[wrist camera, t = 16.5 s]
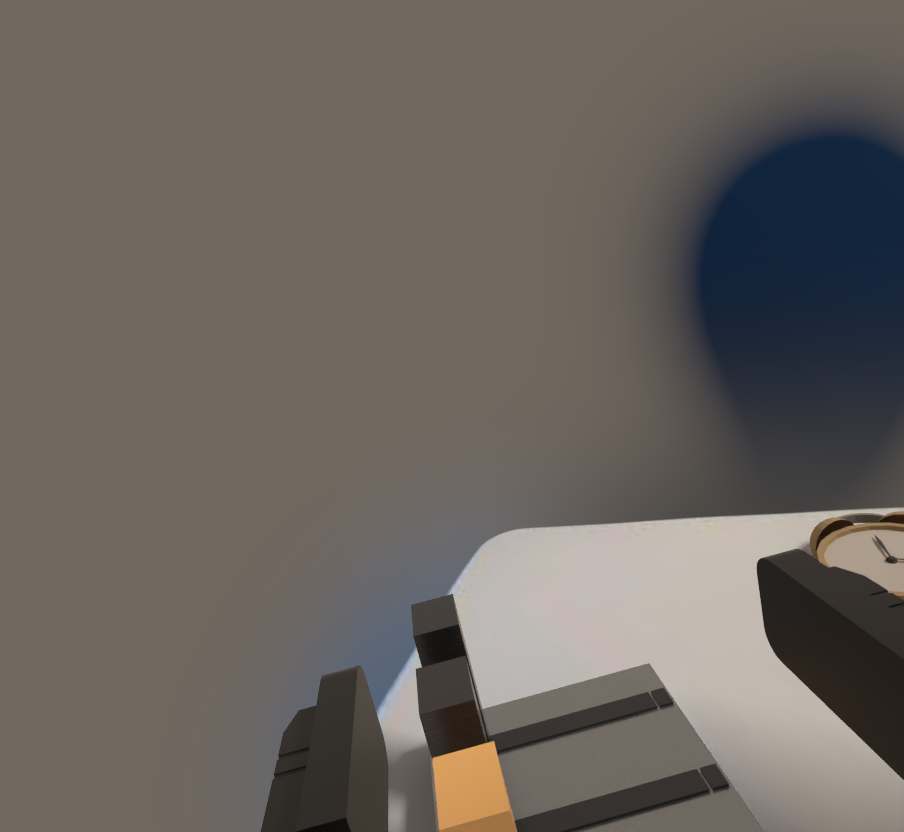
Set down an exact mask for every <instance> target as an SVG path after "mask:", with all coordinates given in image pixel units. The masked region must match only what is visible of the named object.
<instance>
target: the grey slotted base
mask: <svg viewBox="0 0 904 832" xmlns="http://www.w3.org/2000/svg"><path fill="white" fill-rule="evenodd" d="M411 608H412V622H413V635H414V640H415V643H416V647H417V650H418V654H419V658H420V661H421V665H422V668H418V669H416V677H417V690H418V704H419V715H420V719H421V722H422V726H423V729H424V733H425V736H426V740H427V743H428V747H429V757H430V768H431V779H432V791H433V802H434V814H435V825H436V832H440V831H439V823H438V812H437V801H436V791H435V780H434V770H433V759H432V758H435V757H438V756H442V755H445V754H449V753H453V752H456V751H460V750H463V749H467V748H471V747H474V746H478V745H481V744H485V743H489V742H492V741H494V743H495V747H496V751H497V755H498V759H499V762H500V766H501V770H502V774H503V778H504V782H505V786H506V790H507V794H508V797H509V801H510V805H511V809H512V813H513V817H514V821H515V825H516V829H517V832H764V831H763V829H762V828H761V826H760V825H759V824H758V822H757V821H756V819H755V818H754V816H753V815H752V813H751V812H750V810H749V809H748V807H747V806H746V804H745V803H744V802H743V800H742V799H741V797H740V796H739V794H738V793H737V791H736V790H735V788H734V787H733V785H732V784H731V783H730V781H729V780H728V778H727V777H726V775H725V774H724V772H723V771H722V769H721V768H720V766H719V765H718V764H717V762H716V761H715V759H714V758H713V756H712V755H711V753H710V752H709V750H708V749H707V747H706V746H705V744H704V743H703V742H702V740H701V739H700V737H699V736H698V734H697V733H696V731H695V730H694V728H693V727H692V725H691V724H690V723H689V721H688V720H687V718H686V717H685V715H684V714H683V712H682V711H681V709H680V708H679V706H678V705H677V704H676V702H675V701H674V699H673V698H672V696H671V695H670V693H669V692H668V690H667V689H666V687H665V686H664V684H663V683H662V682H661V680H660V679H659V677H658V676H657V674H656V673H655V671H654V670H653V668H652V667H651V665H650V664H645V665H641V666H638V667H634V668H630V669H627V670H623V671H620V672H616V673H612V674H609V675H605V676H601V677H598V678H594V679H591V680H587V681H583V682H580V683H576V684H572V685H569V686H565V687H561V688H558V689H554V690H551V691H547V692H543V693H540V694H536V695H532V696H529V697H525V698H522V699H518V700H514V701H511V702H507V703H503V704H500V705H496V706H493V707H489V708H485V709H482V706H481V702H480V698H479V694H478V690H477V686H476V683H475V679H474V675H473V671H472V667H471V663H470V659H469V655H468V652H467V648H466V644H465V640H464V636H463V632H462V628H461V624H460V621H459V617H458V613H457V609H456V605H455V601H454V597H453V594H451V595H447V596H443V597H440V598H436V599H432V600H428V601H425V602H421V603H417V604H414V605H411Z"/></svg>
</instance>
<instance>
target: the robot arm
mask: <svg viewBox="0 0 904 832" xmlns="http://www.w3.org/2000/svg"><path fill="white" fill-rule="evenodd" d="M757 576H758V583H759V591H760V598H761V606H762V613H763V621H764V628H765V632H766V636H767V639H768V641H769V643H770V645H771V647H772V649H773V651H774V653H775V654H776V656H777V657H778V658H779V659H780V661H781V662H782V663H783V664H784V665H785V666H786V667H788V668H789V669H790V670H791V671H792V672H793V673H794V674H795V675H796V676H797V677H798V678H799V679H800V680H801V681H802V682H803V683H804V684H805V685H806V686H807V687H808V688H809V689H810V690H811V691H812V692H813V693H814V694H815V695H816V696H817V697H819V698H820V699H821V700H822V701H823V702H824V703H825V704H826V705H827V706H828V707H829V708H830V709H831V710H832V711H833V712H834V713H835V714H836V715H837V716H838V717H839V718H840V719H841V720H842V721H843V722H844V723H845V724H846V725H847V726H849V727H850V728H851V729H852V730H853V731H854V732H855V733H856V734H857V735H858V736H859V737H860V738H861V739H862V740H863V741H864V742H865V743H866V744H867V745H868V746H869V747H870V748H871V749H872V750H873V751H874V752H875V753H876V754H877V755H878V756H880V757H881V758H882V759H883V760H884V761H885V762H886V763H887V764H888V765H889V766H890V767H891V768H892V769H893V770H894V771H895V772H896V773H897V774H898V775H899V776H900V777H901V778H902V779H903V780H904V600H903V599H901V598H900V597H898V596H897V595H895V594H893V593H888V591H887V589H885V588H884V587H882V586H880V585H879V584H877V583H876V582H874V581H872V580H871V579H869V578H867V577H866V576H864V575H861V574H858V573H855V572H852V571H848V570H845V569H842V568H839V567H836V566H833V567H829V568H828V567H827V566H825V565H824V564H822V563H821V562H819V561H818V560H816V559H815V558H813V557H811V556H810V555H808V554H807V553H805V552H804V551H802V550H799V549H794V550H791V551H787V552H783V553H779V554H776V555H772V556H768V557H765V558H761V559H760V560H759V561H758V563H757ZM278 756H279V760H277V764H276V768H275V772H274V776H275V779H273V781H272V786H271V790H270V795H269V798H268V803H267V807H266V811H265V816H264V820H263V825H262V829H261V832H388V761H387V753H386V747H385V742H384V737H383V733H382V730H381V727H380V723H379V720H378V717H377V713H376V710H375V707H374V704H373V700H372V697H371V694H370V691H369V687H368V684H367V681H366V677H365V674H364V672H363V670H362V668H361V666H356V667H353V668H349V669H345V670H342V671H338V672H334V673H331V674H326V675H323V676H322V678H321V682H320V687H319V693H318V700H317V705H316V706H313V707H310V708H306V709H303V710H299V711H298V713H297V714H296V715H295V717H294V718H293V720H292V722H291V723H290V724H289V726H288V727H287V729H286V730H285V732H284V733H283V738H282V742H281V746H280V751H279V755H278Z"/></svg>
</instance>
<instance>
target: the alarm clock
mask: <svg viewBox="0 0 904 832" xmlns="http://www.w3.org/2000/svg"><path fill="white" fill-rule="evenodd" d="M853 523H864V524H859V525H853ZM810 547H811V551H812V553H813V554H814V555H815V557H816V558H817V559H818V561H819V562H821V563H822V564H824V565H825V566H827V567H828V568H829V567H833V566H836V567H839V568H842V569H845V570H848V571H852V572H855V573H858V574H861V575H864V576H866V577H867V578H869V579H871V580H872V581H874V582H876V583H877V584H879V585H880V586H882V587H884V588H885V589H887V591H888V593H893V594H895V595H897V596H898V597H900V598H901V599H903V600H904V512H893V513H890V514H887V515H885V516H884V515H880V514H873V513H857V514H849V515H844V516H840V517H837V518H830V519H826V520H824V521H822V522H821V523H819V524H818V525H817V526H816V527H815V529H814V530H813V532H812V534H811V537H810Z"/></svg>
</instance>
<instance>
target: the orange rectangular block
mask: <svg viewBox="0 0 904 832" xmlns="http://www.w3.org/2000/svg"><path fill="white" fill-rule="evenodd" d="M432 759H433V770H434V780H435V791H436V801H437V812H438V823H439V831H440V832H517V829H516V825H515V821H514V817H513V813H512V809H511V805H510V801H509V797H508V794H507V790H506V786H505V782H504V778H503V774H502V770H501V766H500V762H499V759H498V755H497V751H496V747H495V743H494V741H492V742H489V743H485V744H481V745H478V746H474V747H471V748H467V749H463V750H460V751H456V752H453V753H449V754H445V755H442V756H438V757H435V758H432Z"/></svg>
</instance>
